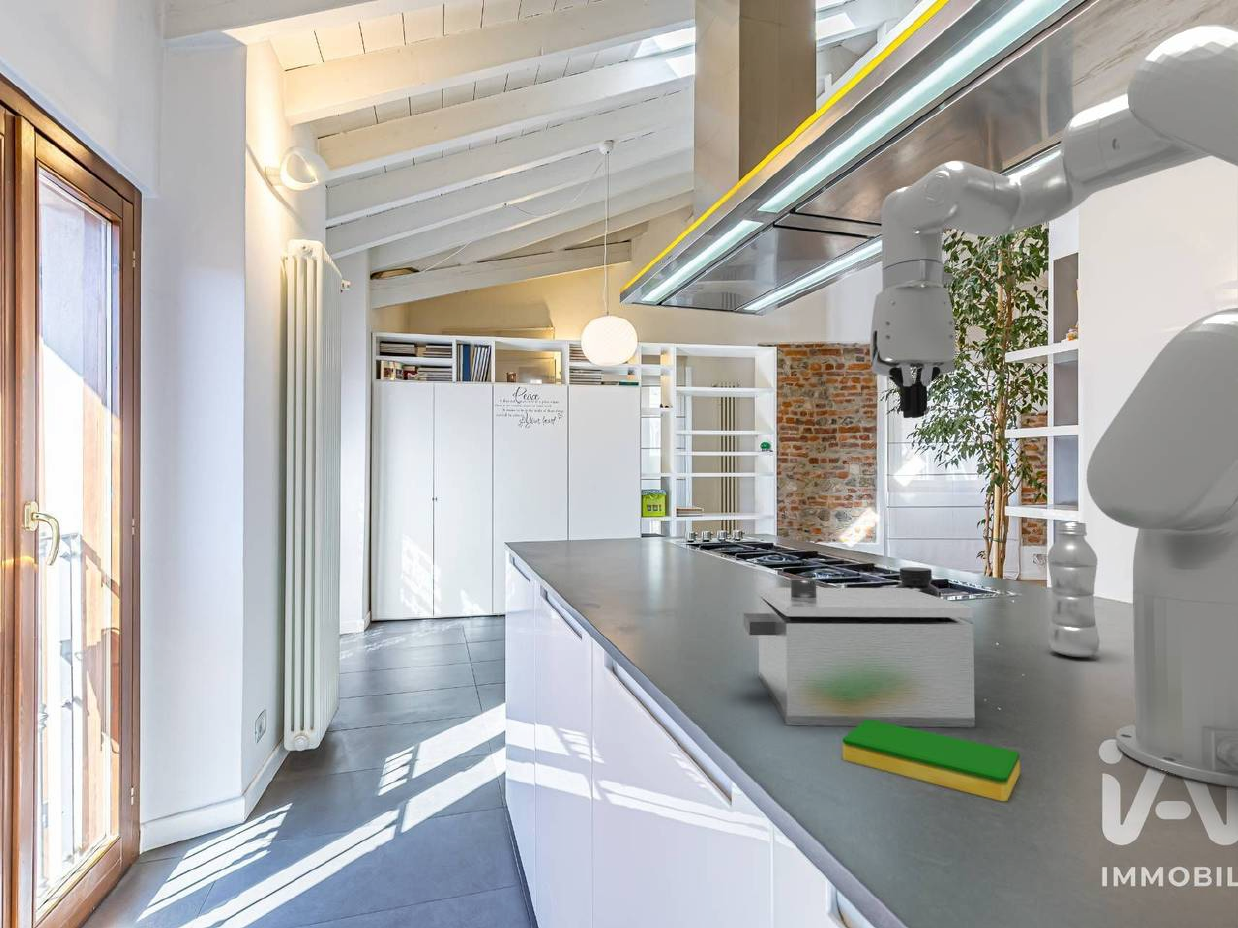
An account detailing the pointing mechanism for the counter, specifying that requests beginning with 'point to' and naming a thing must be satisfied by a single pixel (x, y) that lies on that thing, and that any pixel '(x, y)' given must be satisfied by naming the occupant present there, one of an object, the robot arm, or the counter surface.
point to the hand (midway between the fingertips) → (913, 416)
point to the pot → (866, 668)
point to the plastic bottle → (1073, 593)
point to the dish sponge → (934, 758)
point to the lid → (859, 602)
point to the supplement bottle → (917, 580)
